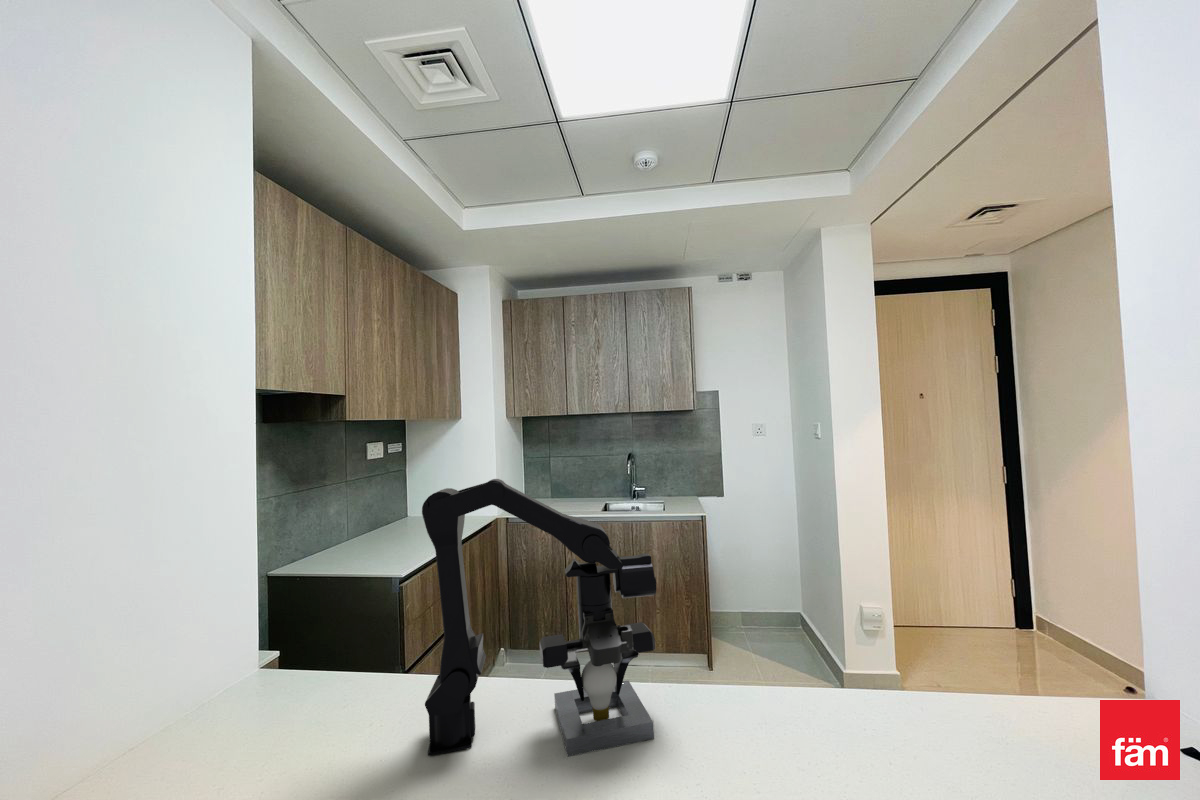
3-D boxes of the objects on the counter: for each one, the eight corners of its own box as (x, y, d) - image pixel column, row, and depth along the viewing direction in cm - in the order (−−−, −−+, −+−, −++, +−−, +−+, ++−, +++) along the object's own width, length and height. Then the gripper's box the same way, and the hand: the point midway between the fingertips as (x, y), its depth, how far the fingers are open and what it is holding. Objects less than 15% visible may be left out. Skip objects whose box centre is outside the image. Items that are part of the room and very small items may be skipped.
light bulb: (619, 732, 77) (615, 666, 78) (582, 734, 77) (579, 668, 78) (619, 711, 83) (615, 650, 84) (584, 713, 83) (581, 652, 84)
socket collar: (567, 756, 72) (566, 739, 72) (555, 708, 85) (554, 693, 85) (654, 738, 75) (653, 721, 75) (629, 694, 88) (628, 680, 88)
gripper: (544, 625, 72) (550, 736, 70) (663, 608, 76) (670, 712, 75) (537, 601, 82) (541, 697, 81) (641, 588, 87) (647, 678, 86)
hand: (599, 696), depth 80 cm, fingers closed on light bulb, 6 cm apart
